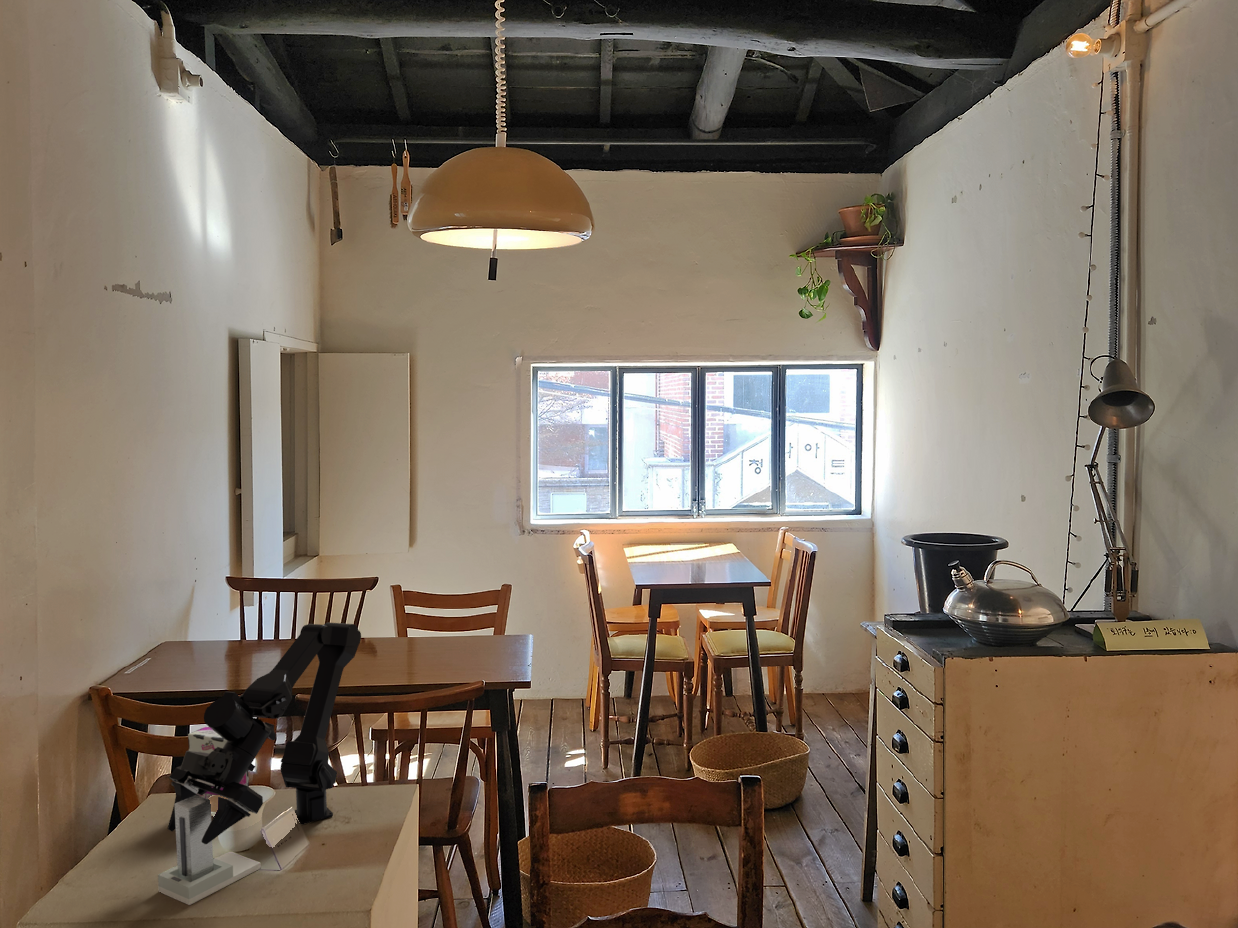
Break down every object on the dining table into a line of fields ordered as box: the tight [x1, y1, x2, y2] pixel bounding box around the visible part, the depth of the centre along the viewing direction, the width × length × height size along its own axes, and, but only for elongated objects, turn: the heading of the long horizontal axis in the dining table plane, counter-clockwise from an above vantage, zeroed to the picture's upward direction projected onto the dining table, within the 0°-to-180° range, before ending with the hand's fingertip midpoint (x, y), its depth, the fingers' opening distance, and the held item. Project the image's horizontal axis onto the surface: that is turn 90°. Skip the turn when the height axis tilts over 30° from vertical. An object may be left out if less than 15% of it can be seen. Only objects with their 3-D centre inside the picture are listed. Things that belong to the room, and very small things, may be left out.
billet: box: [173, 795, 214, 882], centre depth 161 cm, size 4×4×14 cm
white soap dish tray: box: [157, 850, 262, 906], centre depth 164 cm, size 14×8×3 cm, turn 149°
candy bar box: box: [187, 726, 250, 799], centre depth 190 cm, size 11×5×16 cm, turn 68°
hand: (186, 836), depth 160 cm, fingers open, 9 cm apart
